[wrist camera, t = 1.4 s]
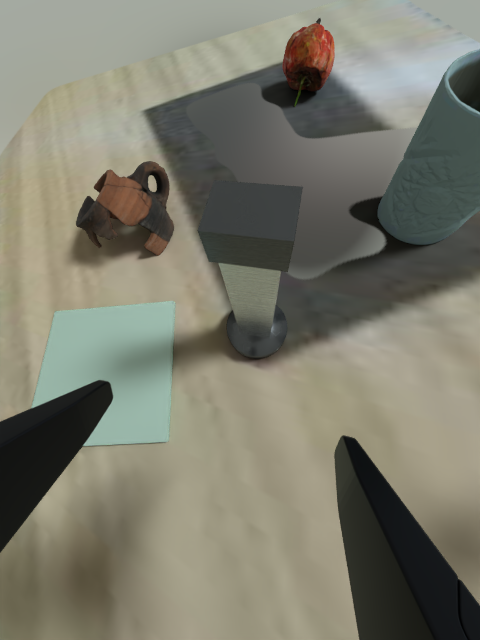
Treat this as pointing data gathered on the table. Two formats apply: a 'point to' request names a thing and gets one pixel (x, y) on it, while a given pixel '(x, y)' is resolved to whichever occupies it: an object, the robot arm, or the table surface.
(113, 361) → the rest mat
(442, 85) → the green cup
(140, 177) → the pottery mug
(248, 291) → the square pillar on disc
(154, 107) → the table surface
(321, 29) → the red ribbed fruit
